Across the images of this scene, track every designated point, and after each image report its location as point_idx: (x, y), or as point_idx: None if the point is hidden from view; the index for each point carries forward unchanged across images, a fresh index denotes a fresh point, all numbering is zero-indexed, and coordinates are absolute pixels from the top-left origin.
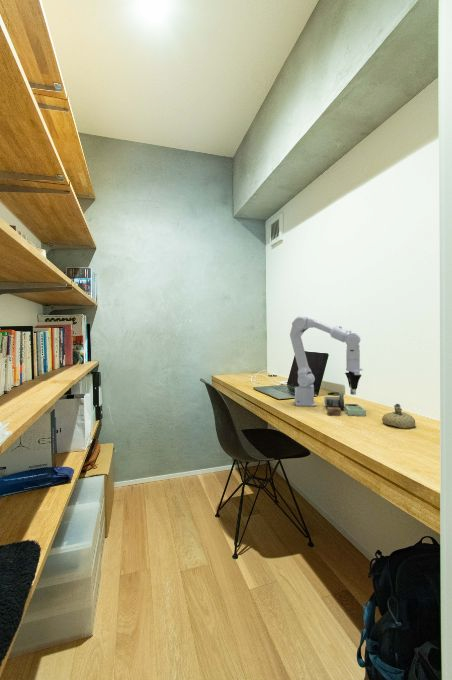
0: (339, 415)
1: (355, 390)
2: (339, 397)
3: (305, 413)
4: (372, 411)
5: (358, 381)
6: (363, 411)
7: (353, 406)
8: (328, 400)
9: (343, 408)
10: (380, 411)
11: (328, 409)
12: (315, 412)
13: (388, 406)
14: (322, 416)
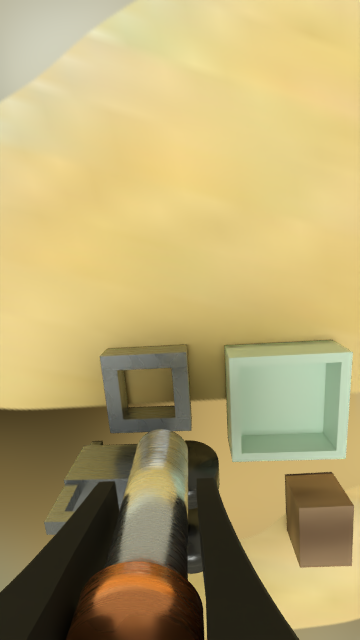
0: (333, 480)
1: (177, 465)
2: (87, 495)
3: (298, 618)
4: (201, 271)
5: (260, 580)
6: (347, 365)
7: (240, 411)
8: (195, 570)
9: (212, 451)
10: (191, 214)
11: (338, 561)
12: (272, 577)
13: (15, 107)
14: (352, 556)
